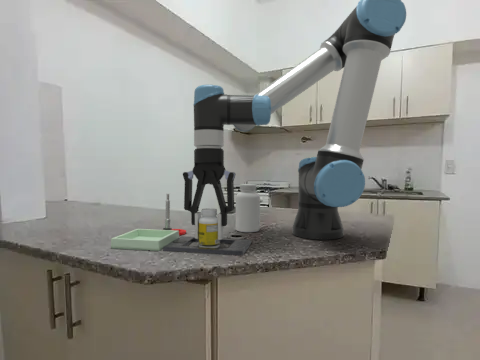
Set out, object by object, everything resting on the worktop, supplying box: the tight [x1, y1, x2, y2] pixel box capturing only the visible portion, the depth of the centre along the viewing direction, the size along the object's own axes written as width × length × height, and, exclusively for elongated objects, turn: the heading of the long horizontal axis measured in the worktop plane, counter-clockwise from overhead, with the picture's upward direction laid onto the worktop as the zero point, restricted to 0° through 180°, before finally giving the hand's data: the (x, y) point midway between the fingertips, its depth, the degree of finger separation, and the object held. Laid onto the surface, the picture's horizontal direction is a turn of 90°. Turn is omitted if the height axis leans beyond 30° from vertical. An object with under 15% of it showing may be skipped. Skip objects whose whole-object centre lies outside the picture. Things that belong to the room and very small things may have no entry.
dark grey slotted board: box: [162, 235, 252, 256], centre depth 83 cm, size 20×12×1 cm, turn 78°
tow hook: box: [162, 193, 187, 236], centre depth 99 cm, size 8×13×9 cm
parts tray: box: [110, 228, 180, 252], centre depth 86 cm, size 13×13×2 cm
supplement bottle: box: [198, 207, 221, 248], centre depth 83 cm, size 5×5×10 cm
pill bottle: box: [235, 183, 261, 233], centre depth 104 cm, size 8×8×15 cm
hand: (209, 237), depth 83 cm, fingers closed on supplement bottle, 5 cm apart
